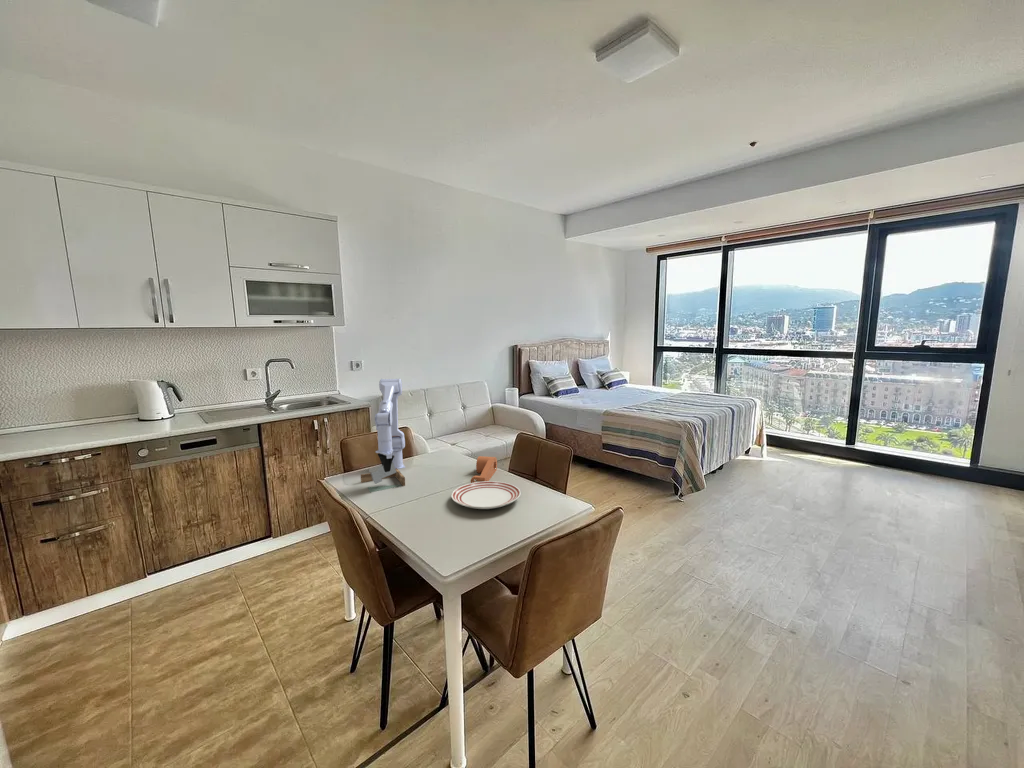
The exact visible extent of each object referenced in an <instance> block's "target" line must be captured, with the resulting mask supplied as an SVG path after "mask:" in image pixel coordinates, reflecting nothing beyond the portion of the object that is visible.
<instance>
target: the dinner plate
mask: <svg viewBox="0 0 1024 768" xmlns="http://www.w3.org/2000/svg"><path fill="white" fill-rule="evenodd" d="M521 493H522V492H521V489H520V488H519V487H517V486H516V485H514V484H512V483H509V482H505V481H498V480H497V481H496V480H489V481H482V482H477V481H475V482H474V483H471V482H469V483H466V484H463V485H461V486H458V487H457V488H455V489H454V490H453V491H452V492H451V495H450V496H451V499H452V500H453V502H455V503H456V504H458V505H460V506H464V507H465V508H470V509H474V510H475V509H476V510H477V509H478V510H490V509H491V510H492V509H498V508H501V507H504V506H508V505H510V504H512V503H514V502H515V501H517V500H518V499H519V498H520V496H521Z"/></svg>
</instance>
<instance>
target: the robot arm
mask: <svg viewBox="0 0 1024 768" xmlns="http://www.w3.org/2000/svg"><path fill="white" fill-rule="evenodd" d="M402 382H403V381H402V379H401V378H400V377H399V378H380V379H379V384H378V386H379V391H380V393H381V395H382V400H381V401H380V402H379V406H378V411H377V413H375V415H374V423H375V428H376V431H377V444H378V445H377V447H378V449H377V450H375V453H376V454H377V456H378V458H379V460H380V465H381V464H383V466H384V471H385V472H389V471H390V469H391V464H392V461H393V463H394V466H395V468H397V469H398V470H400V469H405V468H406V466H405V464H404V463H403V462H404V461H403V459H404V458H403V449H405V447H406V439H405V433H404V432H403V431H402V430H400V429H399V409H398V408H399V404H398V403H399V402H398V401H399V400H398V399H399V396H402V394H403V383H402Z"/></svg>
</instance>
